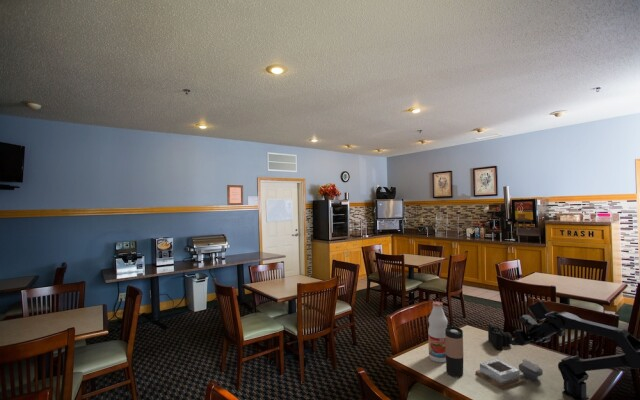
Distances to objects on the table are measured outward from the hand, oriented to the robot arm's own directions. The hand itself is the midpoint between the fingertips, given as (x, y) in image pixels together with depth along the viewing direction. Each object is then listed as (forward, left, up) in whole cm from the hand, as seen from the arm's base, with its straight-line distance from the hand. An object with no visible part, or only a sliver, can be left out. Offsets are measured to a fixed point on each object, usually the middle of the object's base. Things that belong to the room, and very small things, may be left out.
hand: (518, 342), depth 152 cm
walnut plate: (-2, +14, -12) cm, 19 cm away
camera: (+21, -14, -13) cm, 29 cm away
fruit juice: (+23, +26, -13) cm, 37 cm away
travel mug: (+9, +29, -13) cm, 33 cm away
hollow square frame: (-2, +14, -11) cm, 18 cm away
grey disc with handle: (-7, +1, -13) cm, 14 cm away
